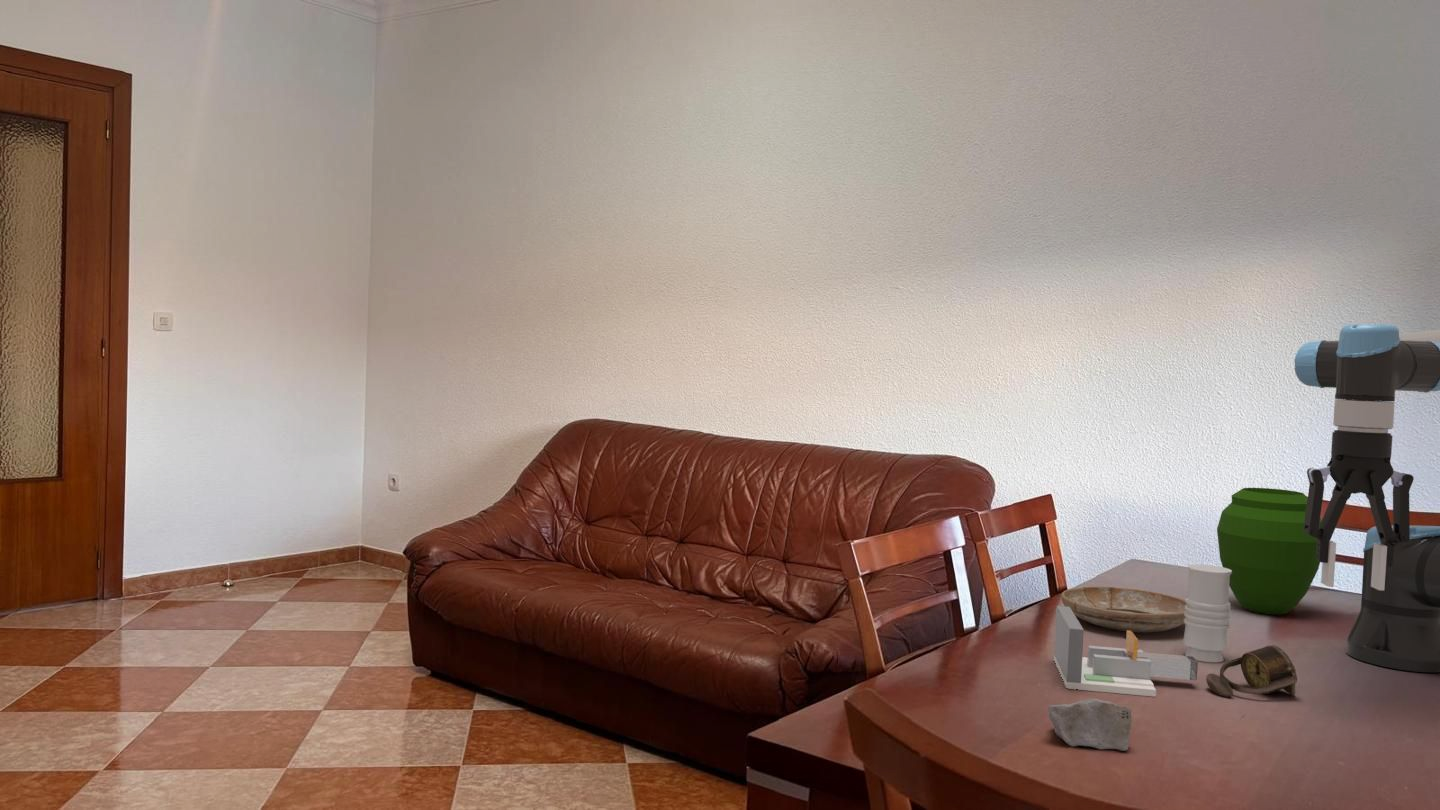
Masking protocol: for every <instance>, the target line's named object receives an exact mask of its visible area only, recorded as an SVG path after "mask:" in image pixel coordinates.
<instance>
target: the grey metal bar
mask: <svg viewBox="0 0 1440 810" xmlns="http://www.w3.org/2000/svg"><path fill="white" fill-rule="evenodd" d="M1138 648H1139V639H1138V638H1137V637H1136V635H1135V634H1134V632H1132V631H1131V630H1127V631H1126V637H1125V649H1126V650H1127V651H1124V657H1131V658H1132V659H1135V660H1137V658H1143V659H1149V660H1150V661H1151V673H1150V677H1154V678H1164V679H1165V678H1166V679H1175V680H1177V679H1178V680H1187V681H1189V680H1190V681H1198V667H1199V666H1198V665H1199V662H1198V660H1196V659H1195V658H1194V657H1192V656H1185V655H1181V654H1180V655H1178V654H1177V655H1176V654H1167V653H1166V654H1164V653H1154V652H1145V651H1143V652H1138V650H1139V649H1138Z"/></svg>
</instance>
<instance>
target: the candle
mask: <svg viewBox="0 0 1440 810" xmlns="http://www.w3.org/2000/svg"><path fill="white" fill-rule="evenodd" d="M1186 568H1187V570H1188V583H1187V597H1185V598H1184V600H1185V602H1186V603H1187V604H1186V605H1185V609H1186V610H1187V611H1185V613H1184V616H1185V617H1186V618H1185V619H1184V624H1185V628H1184V634H1183V641H1182V643H1183V645H1185V646H1187V647H1188V649H1187V650H1186V652H1185V654H1184V656H1192V657H1194V658H1195V659H1196V661H1197V662H1198V661H1199V662H1204V663H1205V662H1206V663H1221V662H1224V656H1223V654H1222V652H1224V651H1226V650H1227V649H1228V633H1227V632H1228V631H1227V630H1228V629H1230V622H1231V621H1230V618H1231V616H1230V615H1231V605H1232V604H1231V602H1230V601H1229V596H1230V586H1229V580H1230V575H1231V574H1232V570H1230V569H1228V568H1224V567H1223V566H1219V565H1212V564H1198V563H1197V564H1188V565H1187V567H1186Z"/></svg>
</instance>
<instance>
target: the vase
mask: <svg viewBox="0 0 1440 810" xmlns="http://www.w3.org/2000/svg"><path fill="white" fill-rule="evenodd" d="M1307 499H1308V495H1306V494H1305V493H1304V492H1300V491H1296V490H1295V491H1294V490H1290V489H1282V488H1281V489H1279V488H1278V489H1277V488H1270V487H1269V488H1268V487H1266V488H1265V487H1243V488H1241V489H1240V490H1238V491H1236V492H1235V493H1232V495H1231V502H1230V503H1229V504H1228V505H1227V506H1226V507H1225V508H1224V509H1223V510H1222V511H1221V514H1220V517H1219V521H1218V524H1217V527H1216V533H1217V534H1216V535H1217V541H1218V551H1219V552H1218V553H1219V560H1220V562H1221V565H1222V566H1221V567H1224V568H1228V569H1230V570H1232V574H1231V575H1230V580H1229V589H1230V590H1231V592H1232V593H1233V595H1234V597H1235V599H1236V600H1237V601H1238V602H1239V604H1240V605H1241V606H1242V607H1243V608H1244V609H1246V610H1247V611H1250V612H1253V613H1257V614H1262V615H1271V616H1272V615H1273V616H1277V615H1278V616H1281V615H1285V614H1288V613H1290V612H1291V611H1293V609H1295V607H1297V606H1298V605H1299V603H1300V602H1301V601H1302V599H1303V598H1304V597H1305V596H1306V595H1307V593H1308V591H1309V590H1310V587H1311V585H1312V584H1313V582H1314V579H1315V577H1316V575H1317V573H1318V570H1319V568H1320V565H1321V564H1320V563H1321V562H1319V561H1317V559H1316V548H1317V540H1316V538H1315V537H1313V536H1311V535H1308V534H1306V533H1304V531H1303V528H1304V521H1305V514H1306V506H1307ZM1322 519H1323V518H1321V517H1320V522H1319V526H1320V524H1321V521H1322Z"/></svg>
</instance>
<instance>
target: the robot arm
mask: <svg viewBox="0 0 1440 810" xmlns="http://www.w3.org/2000/svg"><path fill="white" fill-rule="evenodd" d="M1338 338H1339V339H1338V340H1325V339H1324V340H1320V341H1308V342H1305V343H1304V344H1303V345H1302V346H1301V347H1299V349H1298V350H1297V352H1296V354H1295V357H1294V361H1293V362H1294V372H1295V375H1296V377H1297V379H1298V380H1299V382H1301V383H1302V384H1303V385H1305V386H1308V387H1316V388H1320V389H1324V388H1329V389H1330V388H1333V389H1335V394H1334V407H1333V408H1334V409H1333V421H1332V423H1333V424H1332V425H1333V426H1334V427H1337V429H1335V430H1333V431H1332V433H1331V435H1332V436H1331V451H1330V452H1331V453H1330V455H1331V456H1330V459H1329V462H1328V463H1327V465H1326V466H1324V467H1318V468H1313V467H1310V468H1308V469H1307V470H1306V475H1307V477H1308V478H1307V479H1308V483H1309V484H1308V485H1309V486H1308V493H1307V497H1308V499H1307V506H1306V514H1305V521H1304V528H1303V531H1304V533H1306V534H1308V535H1311V536H1313V537H1315V538H1316V540H1317V548H1316V559H1317V561H1319V562H1320V563H1321V576H1320V577H1321V578H1320V579H1321V580H1320V583H1321V584H1322V585H1324V586H1326V587H1329V588H1331V587H1332V588H1334V586H1335V584H1334V583H1335V570H1336V557H1337V556H1336V555H1337V553H1336V551H1337V542H1335V541H1333V540H1331V539H1332V537H1333V535H1334V532H1335V530H1336V527H1337V525H1338V523H1339V520H1340V519H1341V516H1342V513H1343V511H1344V509H1345V506H1346V504H1347V502H1348V500H1349V499H1350V498H1351V497H1352V494H1355V495H1356V494H1360V493H1361V494H1365V497H1366V498H1367V500H1368V503H1369V507H1370V510H1371V513H1372V517H1373V521H1374V524H1375V526H1373V527H1370V528H1369V529H1368V530H1367V532H1366V536H1365V541H1364V548H1363V550H1362V552H1363V562H1362V563H1363V565H1362V583H1361V603H1360V610H1359V613H1358V615H1357V617H1356V619H1355V621H1354V622H1353V623H1354V624H1353V626H1352V628H1351V630H1350V632H1349V634H1348V636H1347V638H1346V648H1345V649H1346V650H1345V651H1346V652H1345V653H1346V654H1347V655H1349V656H1350V657H1352V658H1354V659H1355V660H1358V661H1362V662H1365V663H1367V664H1371V665H1374V666H1375V665H1376V666H1380V667H1384V668H1388V669H1395V670H1401V671H1407V672H1419V673H1440V526H1439V525H1438V526H1437V525H1411V524H1410V520H1411V519H1410V490H1411V487H1412V485H1413V482H1414V476H1413V475H1412V474H1408V473H1404V472H1399V471H1396V470H1394V467H1393V466H1392V463H1391V460H1392V459H1391V458H1392V449H1393V435H1392V433H1389V430H1392V429H1393V428H1394V422H1395V421H1394V420H1395V401H1396V391H1399V392H1418V393H1430V392H1439V391H1440V329H1434V330H1425V331H1418V332H1409V333H1407V332H1406V333H1400V330H1399V327H1397V325H1392V324H1380V323H1379V324H1378V323H1377V324H1376V323H1374V324H1373V323H1372V324H1370V323H1362V324H1360V323H1358V324H1356V323H1355V324H1354V323H1353V324H1347V325H1344V326H1343V327H1342V328H1341V329H1340V331H1339V337H1338ZM1329 476H1330V477H1331V478H1332V480H1333V481H1334V482H1335V485H1334V487H1333V489H1332V492H1331V494H1332V496H1331V498H1330V501H1329V502H1328V505H1327V507H1326V509H1325V511H1324V514H1323V517H1322V518H1321V514H1322V508H1323V507H1322V505H1323V502H1324V501H1323V500H1324V492H1325V483H1326V482H1327V480H1328V477H1329ZM1390 479H1391V485H1392V486H1393V487H1392V523H1391V519H1390V515H1389V512H1388V509H1387V505H1386V501H1385V498H1386V497H1385V494H1384V493H1385V492H1384V488H1383V486H1384V485H1385V484H1386V483H1387V482H1388V481H1389V480H1390ZM1320 518H1321V519H1322V521H1321V524H1320V526H1319V522H1320Z"/></svg>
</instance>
